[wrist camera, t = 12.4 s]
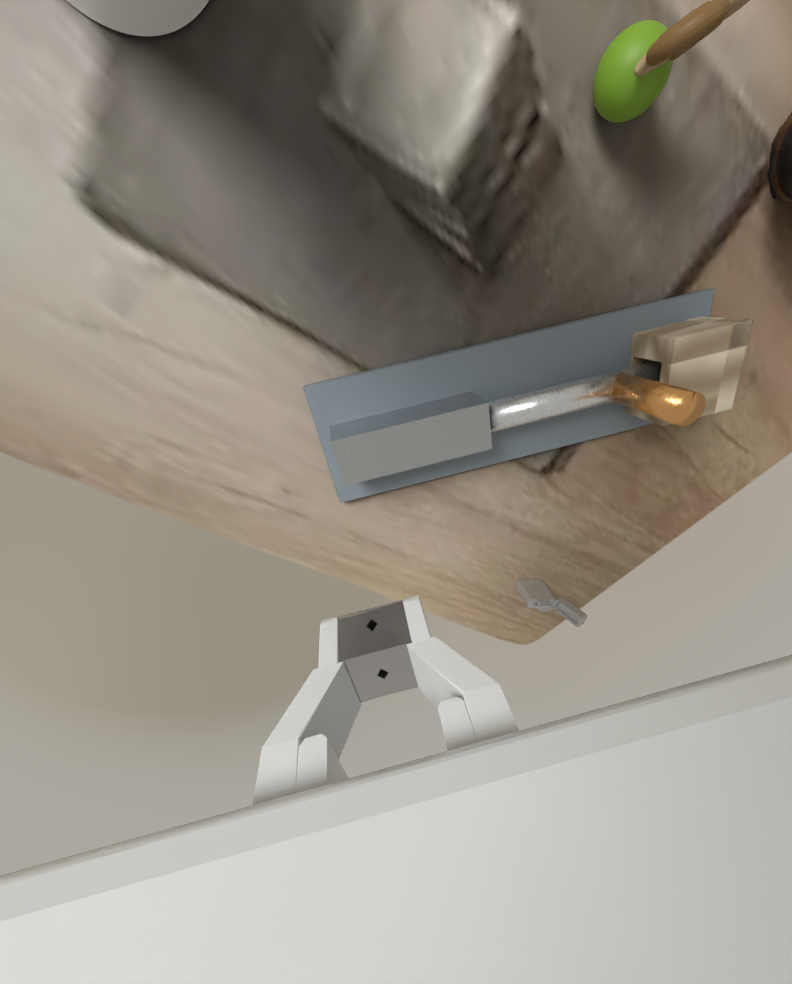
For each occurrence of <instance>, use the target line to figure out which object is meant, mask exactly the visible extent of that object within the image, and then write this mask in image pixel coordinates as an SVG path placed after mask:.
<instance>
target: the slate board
mask: <svg viewBox="0 0 792 984" xmlns="http://www.w3.org/2000/svg"><path fill="white" fill-rule="evenodd" d="M714 291H715V289H705V290H700V291H696V292H692V293H688V294H684V295H680V296H675V297H671V298H667V299H663V300H659V301H655V302H650V303H646V304H642V305H638V306H634V307H630V308H626V309H621V310H617V311H613V312H609V313H605V314H601V315H596V316H592V317H588V318H584V319H580V320H576V321H572V322H567V323H563V324H559V325H555V326H551V327H547V328H542V329H538V330H534V331H530V332H526V333H522V334H517V335H513V336H509V337H505V338H501V339H497V340H493V341H488V342H484V343H480V344H476V345H472V346H468V347H463V348H459V349H455V350H451V351H447V352H443V353H439V354H434V355H430V356H426V357H422V358H418V359H414V360H409V361H405V362H401V363H397V364H393V365H389V366H384V367H380V368H376V369H372V370H368V371H364V372H360V373H355V374H351V375H347V376H343V377H339V378H335V379H330V380H326V381H322V382H318V383H314V384H310V385H306V386H304V388H303V389H304V392H305V395H306V398H307V401H308V404H309V407H310V411H311V414H312V417H313V420H314V423H315V426H316V429H317V432H318V435H319V439H320V442H321V445H322V448H323V451H324V454H325V457H326V460H327V464H328V467H329V470H330V473H331V476H332V479H333V482H334V485H335V488H336V492H337V495H338V498H339V501H340V503H342V502H346V501H350V500H354V499H358V498H362V497H366V496H370V495H374V494H378V493H382V492H385V491H389V490H393V489H397V488H401V487H405V486H409V485H413V484H417V483H421V482H425V481H429V480H433V479H437V478H441V477H445V476H449V475H453V474H457V473H461V472H464V471H468V470H472V469H476V468H480V467H484V466H488V465H492V464H496V463H500V462H504V461H508V460H512V459H516V458H520V457H524V456H528V455H532V454H536V453H539V452H543V451H547V450H551V449H555V448H559V447H563V446H567V445H571V444H575V443H579V442H583V441H587V440H591V439H595V438H599V437H603V436H607V435H611V434H615V433H618V432H622V431H626V430H630V429H634V428H638V427H642V426H646V425H650V424H654V423H651V422H649V421H646V420H644V419H641V418H639V417H636V416H634V415H631V414H629V413H626V412H625V407H626V406H625V405H623V404H620V403H617V402H611V403H607V404H603V405H599V406H595V407H591V408H587V409H583V410H579V411H575V412H571V413H567V414H563V415H559V416H555V417H551V418H547V419H543V420H539V421H535V422H531V423H527V424H523V425H519V426H515V427H511V428H507V429H503V430H499V431H495V432H491V440H492V449H490V450H486V451H482V452H478V453H474V454H470V455H466V456H462V457H458V458H454V459H450V460H446V461H442V462H438V463H434V464H430V465H426V466H422V467H418V468H414V469H410V470H406V471H402V472H398V473H394V474H390V475H386V476H382V477H378V478H374V479H370V480H366V481H362V482H359V483H355V484H351V485H347V486H343V483H342V480H341V476H340V473H339V470H338V467H337V463H336V460H335V457H334V454H333V450H332V447H331V444H330V426H332V425H336V424H340V423H344V422H348V421H352V420H357V419H361V418H365V417H369V416H373V415H377V414H381V413H385V412H389V411H393V410H397V409H401V408H405V407H410V406H414V405H418V404H422V403H426V402H430V401H434V400H438V399H442V398H446V397H450V396H454V395H458V394H463V393H467V392H471V391H472V392H474V393H475V394H477V395H478V396H480V397H481V398H482V399H484V400H485V401H487V402H491V401H495V400H499V399H503V398H507V397H511V396H515V395H519V394H523V393H528V392H532V391H536V390H540V389H544V388H548V387H552V386H556V385H560V384H564V383H568V382H572V381H576V380H580V379H584V378H588V377H592V376H596V375H600V374H605V373H609V372H613V371H617V370H621V369H625V368H629V367H630V357H631V347H632V336H633V333H636V332H640V331H644V330H648V329H653V328H657V327H661V326H665V325H669V324H673V323H677V322H681V321H685V320H690V319H694V318H698V317H710V312H711V307H712V302H713V296H714Z"/></svg>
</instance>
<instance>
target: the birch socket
mask: <svg viewBox="0 0 792 984" xmlns="http://www.w3.org/2000/svg"><path fill="white" fill-rule="evenodd" d="M752 323H753V320H750V319H734V318H717V317H698V318H694V319H690V320H685V321H681V322H677V323H673V324H669V325H665V326H661V327H657V328H653V329H648V330H644V331H640V332H636V333H633V336H632V347H631V357H630V367H633V366H637V365H641V364H645V363H649V362H653V361H658V362H662V366H661V373H660V380H659V382H662V383H666V384H669V385H673V386H677V387H680V388H684V389H688V390H692V391H695V392H699V393H702V394H703V395H704V396H705V399H706V406H705V409H704V411H703V413H702V415H701V416H700V417H703V416H707V415H710V414H714V413H718V412H722V411H726V410H730V409H732V406H733V402H734V397H735V393H736V389H737V385H738V381H739V377H740V372H741V368H742V364H743V360H744V356H745V352H746V347H747V343H748V339H749V335H750V331H751V327H752ZM625 412H626V413H629V414H631V415H634V416H636V417H639V418H641V419H644V420H646V421H649V422H651V423H654V424H656V425H659V426H661V427H663V426H667V425H671V424H673V423H670V422H667V421H665V420H662V419H660V418H657V417H654V416H652V415H649V414H646V413H644V412H641V411H638V410H636V409H633V408H631V407H628V406H626V407H625Z"/></svg>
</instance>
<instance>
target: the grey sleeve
mask: <svg viewBox="0 0 792 984" xmlns="http://www.w3.org/2000/svg"><path fill="white" fill-rule="evenodd" d="M330 444H331V447H332V450H333V454H334V457H335V460H336V463H337V467H338V470H339V473H340V476H341V480H342V483H343V486H347V485H351V484H355V483H359V482H362V481H366V480H370V479H374V478H378V477H382V476H386V475H390V474H394V473H398V472H402V471H406V470H410V469H414V468H418V467H422V466H426V465H430V464H434V463H438V462H442V461H446V460H450V459H454V458H458V457H462V456H466V455H470V454H474V453H478V452H482V451H486V450H490V449H492V440H491V427H490V415H489V403H488V402H487V401H485V400H484V399H482V398H481V397H480V396H478V395H477V394H475V393H474V392H472V391H471V392H467V393H463V394H458V395H454V396H450V397H446V398H442V399H438V400H434V401H430V402H426V403H422V404H418V405H414V406H410V407H405V408H401V409H397V410H393V411H389V412H385V413H381V414H377V415H373V416H369V417H365V418H361V419H357V420H352V421H348V422H344V423H340V424H336V425H332V426H330Z"/></svg>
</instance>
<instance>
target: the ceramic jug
mask: <svg viewBox="0 0 792 984" xmlns="http://www.w3.org/2000/svg"><path fill="white" fill-rule="evenodd" d="M772 146H773V148H772V154H771V166H770V170H769V182H770V188H771V193H772V197H773V198H777V199H782V200H783V201H784V202H786V203H790V204H792V113H791V114H790V116H789V117H788V119H787V120H786V121H785V123H784V124H783V125H782V126H781V127H780V129H779V131H778V133H777V135H776V137H775V139H774V141H773V143H772Z"/></svg>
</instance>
